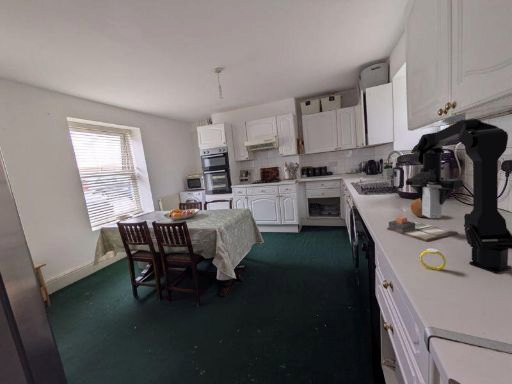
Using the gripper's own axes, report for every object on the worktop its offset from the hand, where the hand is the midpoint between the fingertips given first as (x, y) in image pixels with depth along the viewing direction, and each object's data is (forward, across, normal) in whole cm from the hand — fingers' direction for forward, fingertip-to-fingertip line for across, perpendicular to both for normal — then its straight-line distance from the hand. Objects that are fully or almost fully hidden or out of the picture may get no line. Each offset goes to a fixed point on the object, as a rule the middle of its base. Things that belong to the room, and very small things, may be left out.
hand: (431, 203), depth 91 cm
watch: (+13, +20, -27) cm, 36 cm away
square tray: (+13, -4, -1) cm, 14 cm away
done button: (+10, -9, -6) cm, 15 cm away
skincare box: (+6, 0, 0) cm, 6 cm away
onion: (+14, -19, +20) cm, 31 cm away
